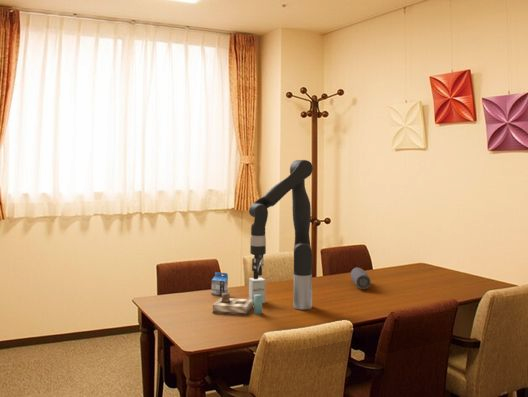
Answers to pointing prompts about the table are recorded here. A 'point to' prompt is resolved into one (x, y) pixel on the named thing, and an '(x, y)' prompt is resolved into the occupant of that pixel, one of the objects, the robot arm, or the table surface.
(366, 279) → the bluetooth speaker
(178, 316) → the table surface
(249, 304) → the peg board
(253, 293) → the supplement box
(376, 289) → the table surface
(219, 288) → the label tape box
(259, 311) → the teal pin
